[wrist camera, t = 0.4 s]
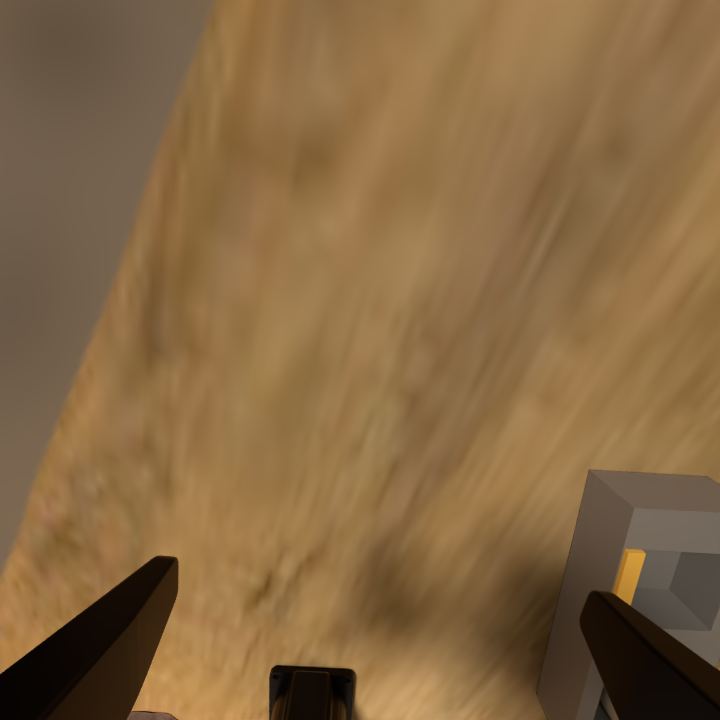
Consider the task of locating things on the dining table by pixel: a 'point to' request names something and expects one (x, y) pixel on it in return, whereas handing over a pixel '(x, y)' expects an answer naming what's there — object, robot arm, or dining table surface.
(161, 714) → the dark grey lumpy stone
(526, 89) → the dining table surface
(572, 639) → the compartment tray
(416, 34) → the dining table surface
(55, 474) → the dining table surface
